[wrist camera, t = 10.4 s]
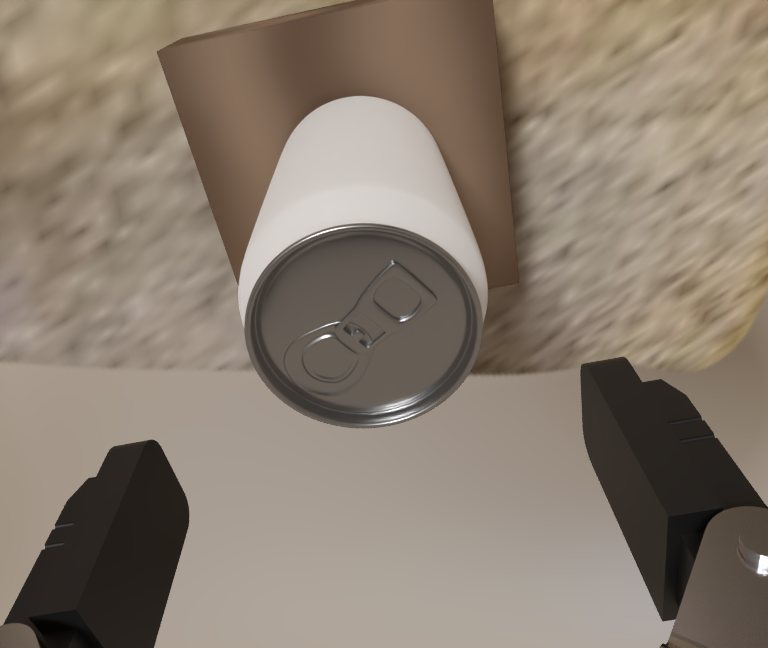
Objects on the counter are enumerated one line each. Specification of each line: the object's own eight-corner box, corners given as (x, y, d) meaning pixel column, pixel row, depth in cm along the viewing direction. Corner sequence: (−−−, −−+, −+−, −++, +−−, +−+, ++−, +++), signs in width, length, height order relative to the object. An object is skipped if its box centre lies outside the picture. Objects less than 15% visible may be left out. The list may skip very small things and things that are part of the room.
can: (246, 181, 25) (168, 344, 15) (356, 53, 23) (356, 140, 13) (365, 280, 28) (370, 479, 17) (476, 174, 25) (558, 329, 15)
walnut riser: (471, -25, 25) (490, -22, 22) (500, 246, 31) (519, 282, 28) (182, 38, 26) (156, 51, 23) (265, 292, 32) (255, 333, 29)
